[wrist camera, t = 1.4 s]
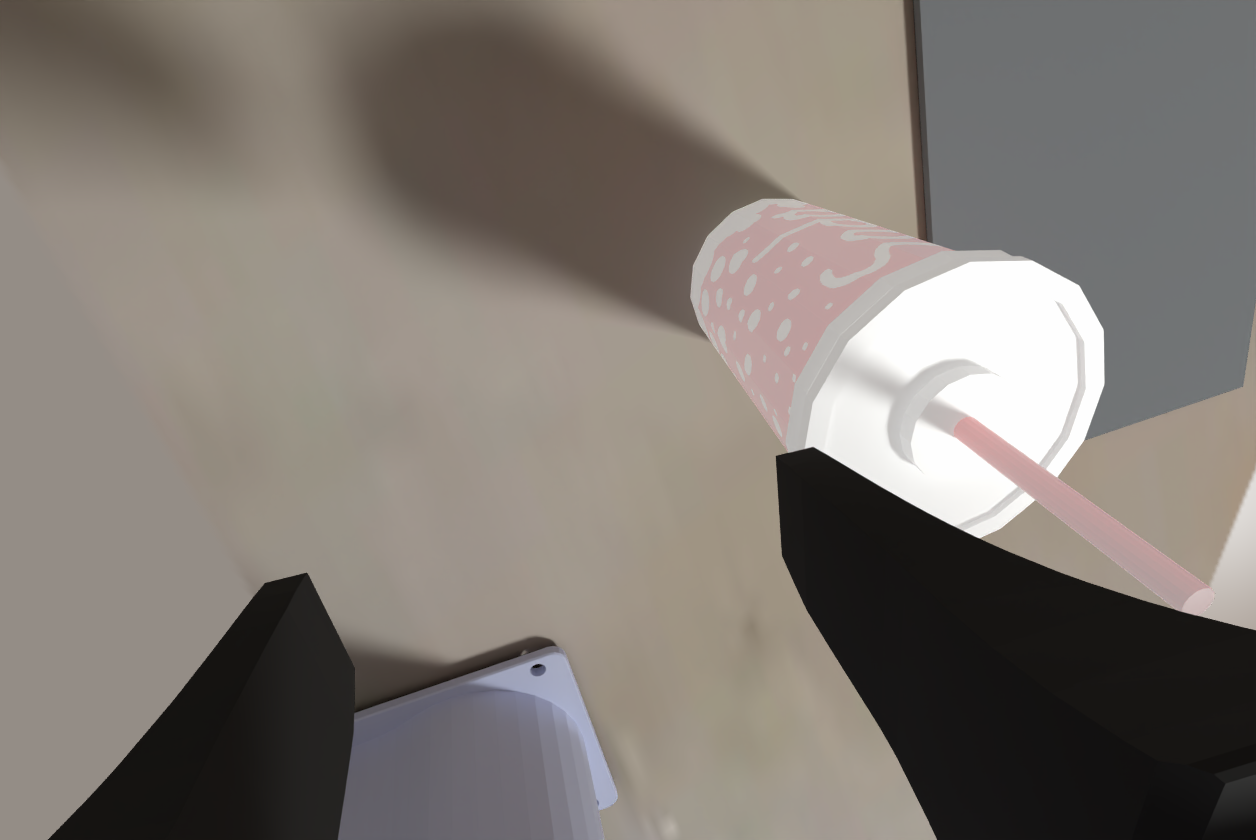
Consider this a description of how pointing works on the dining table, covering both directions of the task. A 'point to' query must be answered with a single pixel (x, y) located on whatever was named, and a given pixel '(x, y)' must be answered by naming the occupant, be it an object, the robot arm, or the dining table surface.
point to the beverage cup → (919, 369)
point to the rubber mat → (1106, 172)
